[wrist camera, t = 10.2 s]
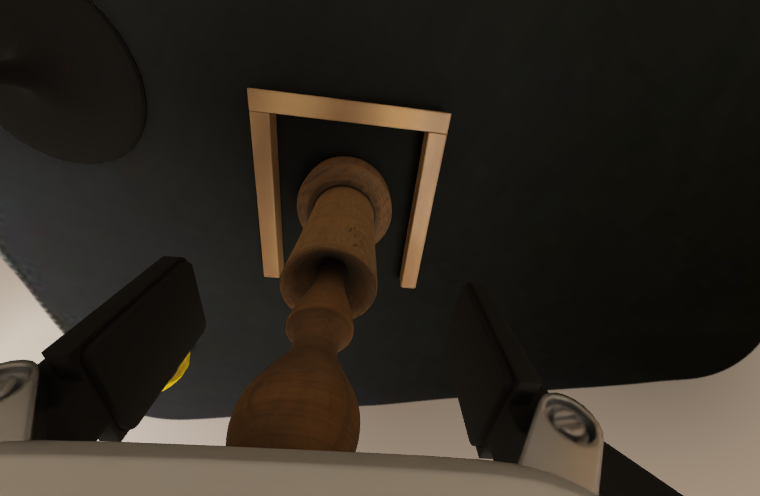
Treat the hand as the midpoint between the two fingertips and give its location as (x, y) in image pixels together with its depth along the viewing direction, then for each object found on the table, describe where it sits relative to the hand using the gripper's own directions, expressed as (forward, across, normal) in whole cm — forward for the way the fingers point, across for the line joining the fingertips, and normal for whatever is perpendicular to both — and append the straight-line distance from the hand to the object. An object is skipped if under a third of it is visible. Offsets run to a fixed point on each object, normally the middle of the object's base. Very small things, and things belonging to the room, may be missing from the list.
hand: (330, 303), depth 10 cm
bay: (+12, 0, +1) cm, 13 cm away
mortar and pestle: (+13, 0, +1) cm, 13 cm away
